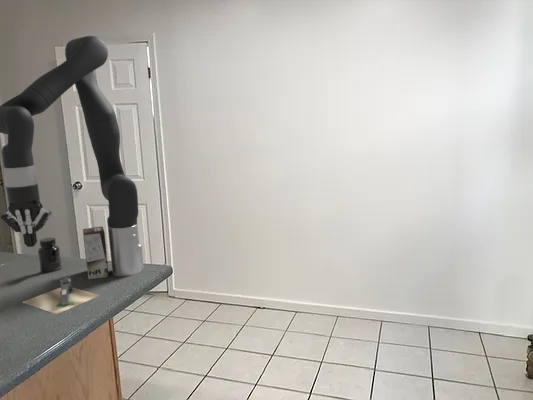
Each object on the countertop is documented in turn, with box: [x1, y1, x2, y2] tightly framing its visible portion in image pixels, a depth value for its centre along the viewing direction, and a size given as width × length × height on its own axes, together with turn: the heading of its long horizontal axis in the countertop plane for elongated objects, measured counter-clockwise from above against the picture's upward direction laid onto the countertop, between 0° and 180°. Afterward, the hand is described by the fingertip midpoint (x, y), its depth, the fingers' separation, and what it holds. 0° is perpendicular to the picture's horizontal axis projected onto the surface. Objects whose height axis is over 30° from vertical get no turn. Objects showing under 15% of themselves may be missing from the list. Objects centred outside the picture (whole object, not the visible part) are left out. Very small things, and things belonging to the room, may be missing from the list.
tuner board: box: [22, 286, 101, 315], centre depth 135 cm, size 14×16×2 cm
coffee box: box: [82, 226, 110, 280], centre depth 154 cm, size 9×6×16 cm
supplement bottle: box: [37, 237, 63, 273], centre depth 160 cm, size 7×7×12 cm
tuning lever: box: [59, 276, 73, 305], centre depth 135 cm, size 12×3×4 cm, turn 20°
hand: (31, 246), depth 129 cm, fingers closed
